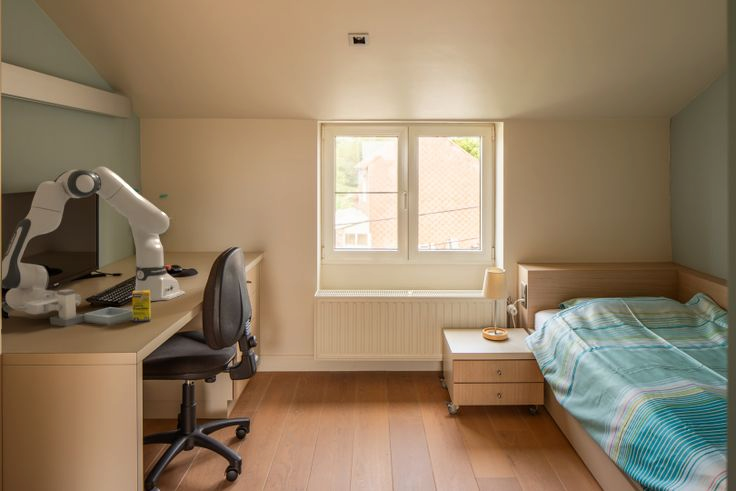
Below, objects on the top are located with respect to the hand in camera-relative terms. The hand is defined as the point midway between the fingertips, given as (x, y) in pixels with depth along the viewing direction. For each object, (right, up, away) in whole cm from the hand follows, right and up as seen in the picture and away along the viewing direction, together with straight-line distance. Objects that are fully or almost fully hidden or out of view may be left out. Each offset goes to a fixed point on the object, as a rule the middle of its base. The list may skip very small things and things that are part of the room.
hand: (68, 305), depth 227 cm
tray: (+12, -6, +6) cm, 15 cm away
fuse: (-1, -6, +1) cm, 7 cm away
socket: (0, -6, +3) cm, 7 cm away
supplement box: (+24, -6, +6) cm, 26 cm away
